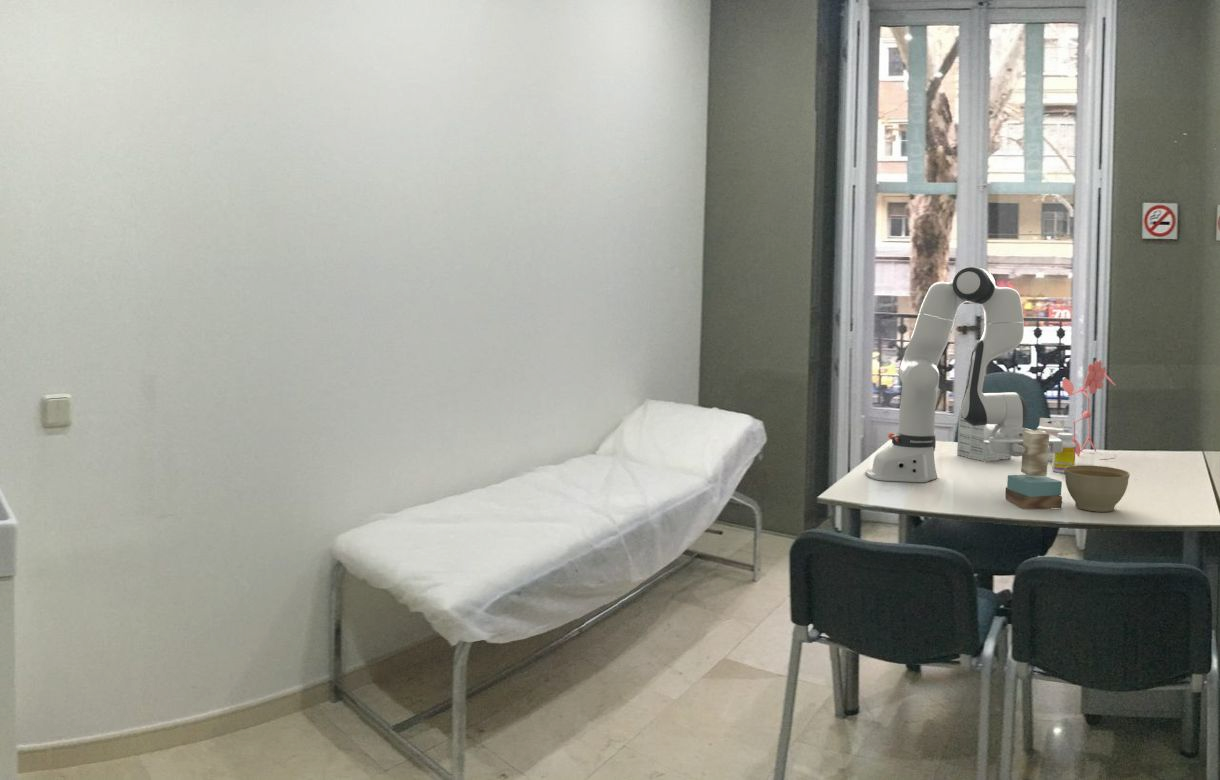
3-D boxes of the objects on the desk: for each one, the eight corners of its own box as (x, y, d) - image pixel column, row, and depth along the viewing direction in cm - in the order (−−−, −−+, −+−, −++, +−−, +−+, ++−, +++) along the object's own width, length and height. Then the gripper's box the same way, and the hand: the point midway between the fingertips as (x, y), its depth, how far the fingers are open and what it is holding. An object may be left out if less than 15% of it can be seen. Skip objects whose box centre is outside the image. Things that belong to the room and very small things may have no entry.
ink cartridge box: (1034, 459, 317) (1036, 419, 316) (1036, 457, 322) (1038, 417, 320) (1061, 462, 313) (1063, 421, 311) (1062, 460, 317) (1065, 419, 315)
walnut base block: (1022, 510, 251) (1023, 496, 250) (1005, 500, 262) (1005, 487, 261) (1061, 510, 251) (1062, 496, 250) (1042, 500, 262) (1043, 487, 261)
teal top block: (1029, 496, 250) (1030, 482, 249) (1007, 488, 259) (1007, 475, 259) (1060, 495, 252) (1061, 481, 251) (1037, 487, 261) (1038, 473, 261)
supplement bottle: (1076, 474, 294) (1079, 435, 293) (1055, 473, 296) (1057, 435, 294) (1070, 469, 301) (1072, 432, 299) (1049, 469, 302) (1051, 431, 301)
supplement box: (983, 452, 331) (985, 405, 329) (1011, 458, 319) (1014, 410, 317) (956, 455, 326) (958, 408, 324) (984, 462, 314) (986, 413, 312)
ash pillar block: (1028, 475, 252) (1031, 434, 251) (1021, 471, 257) (1023, 430, 256) (1046, 475, 252) (1049, 434, 251) (1038, 471, 257) (1041, 430, 256)
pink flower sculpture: (1049, 455, 325) (1057, 360, 320) (1091, 448, 338) (1099, 357, 333) (1090, 463, 312) (1099, 364, 307) (1132, 456, 325) (1141, 361, 319)
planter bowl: (1099, 500, 260) (1102, 463, 259) (1140, 514, 245) (1143, 475, 243) (1049, 502, 258) (1052, 465, 257) (1087, 517, 242) (1090, 478, 241)
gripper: (981, 430, 267) (1000, 439, 253) (1050, 430, 266) (1073, 439, 252) (980, 451, 267) (999, 460, 254) (1048, 451, 267) (1071, 461, 253)
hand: (1036, 450), depth 253 cm, fingers closed on ash pillar block, 5 cm apart
